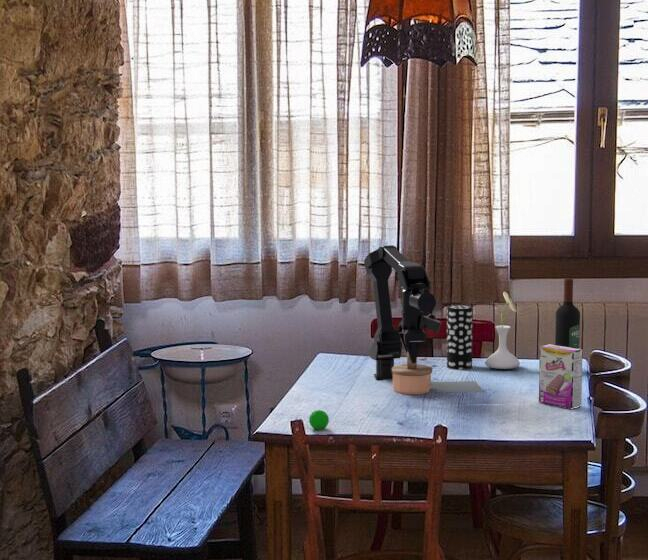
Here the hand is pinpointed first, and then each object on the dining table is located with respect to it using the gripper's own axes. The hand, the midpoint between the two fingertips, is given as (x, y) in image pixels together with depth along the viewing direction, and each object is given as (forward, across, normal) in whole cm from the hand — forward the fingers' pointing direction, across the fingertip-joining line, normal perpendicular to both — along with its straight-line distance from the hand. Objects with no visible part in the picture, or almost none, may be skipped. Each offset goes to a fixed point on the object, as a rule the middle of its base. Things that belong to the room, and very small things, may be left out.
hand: (411, 359), depth 302 cm
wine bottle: (+10, +23, -53) cm, 59 cm away
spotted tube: (+10, +33, -20) cm, 40 cm away
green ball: (+10, -40, +29) cm, 50 cm away
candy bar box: (+10, -20, -39) cm, 45 cm away
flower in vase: (+10, +31, -34) cm, 47 cm away
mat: (+10, +3, -14) cm, 17 cm away
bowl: (+10, 0, 0) cm, 10 cm away
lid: (+4, 0, 0) cm, 4 cm away
